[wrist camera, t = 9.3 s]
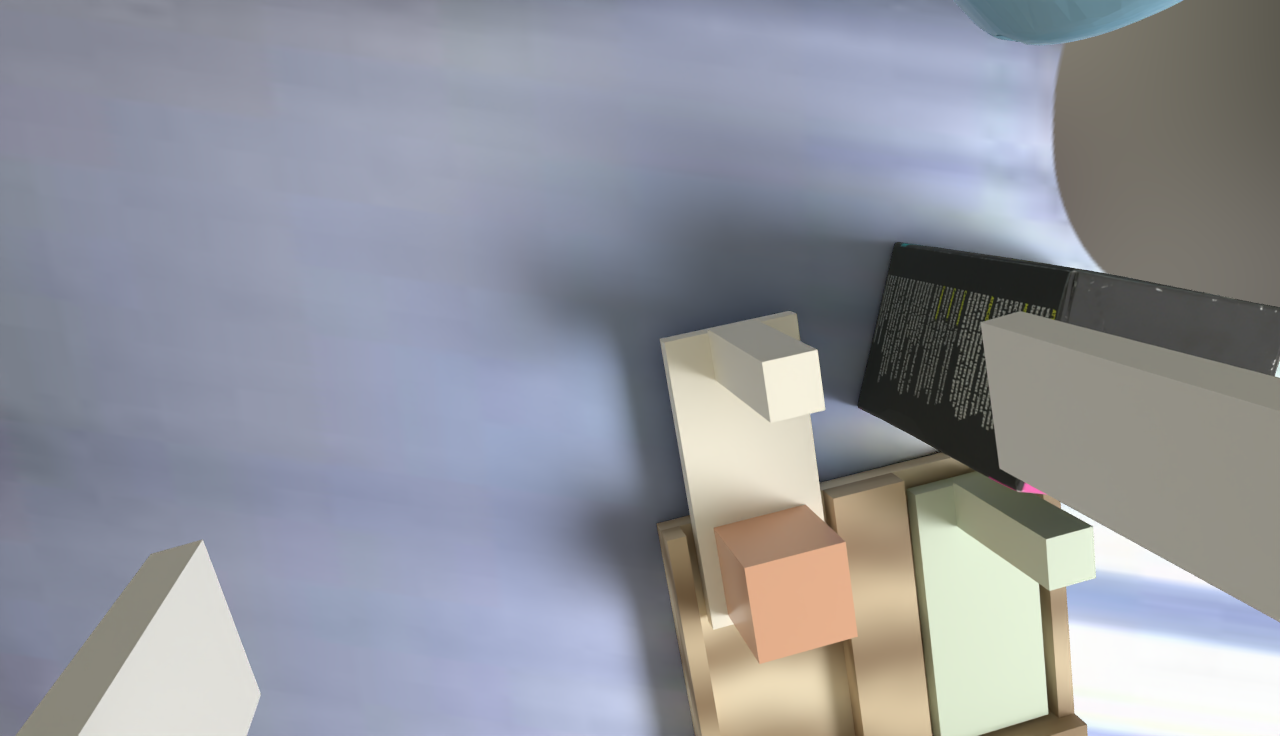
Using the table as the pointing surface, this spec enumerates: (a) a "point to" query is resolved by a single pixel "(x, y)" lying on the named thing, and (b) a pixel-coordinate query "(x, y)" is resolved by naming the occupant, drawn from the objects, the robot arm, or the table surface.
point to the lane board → (854, 668)
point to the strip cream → (743, 429)
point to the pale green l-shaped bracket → (989, 596)
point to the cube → (786, 582)
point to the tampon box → (997, 286)
